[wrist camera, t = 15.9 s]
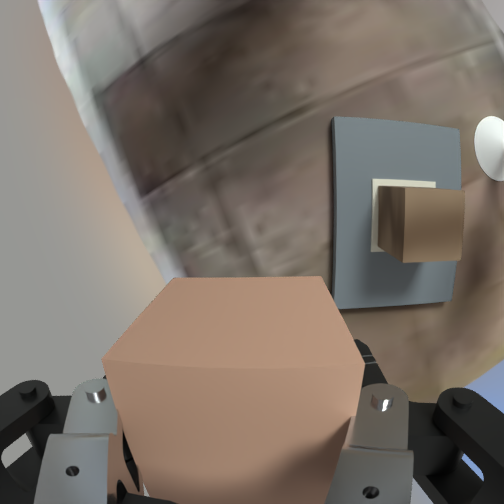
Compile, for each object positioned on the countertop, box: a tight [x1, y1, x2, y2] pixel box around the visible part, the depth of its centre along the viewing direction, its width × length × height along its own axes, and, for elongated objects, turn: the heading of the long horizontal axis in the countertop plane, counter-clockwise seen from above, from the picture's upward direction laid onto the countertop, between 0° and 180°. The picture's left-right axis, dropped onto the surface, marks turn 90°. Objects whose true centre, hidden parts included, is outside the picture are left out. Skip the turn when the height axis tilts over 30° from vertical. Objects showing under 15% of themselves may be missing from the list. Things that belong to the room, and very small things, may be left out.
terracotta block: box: [102, 276, 365, 504], centre depth 9 cm, size 5×5×6 cm
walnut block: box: [378, 186, 465, 263], centre depth 22 cm, size 5×5×6 cm
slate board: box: [331, 117, 461, 309], centre depth 26 cm, size 16×12×1 cm
